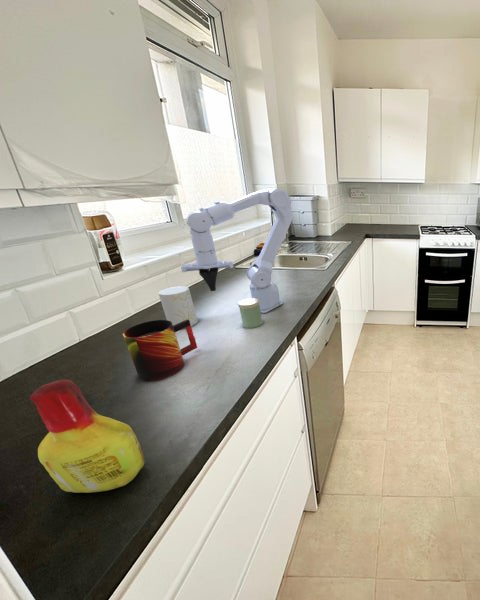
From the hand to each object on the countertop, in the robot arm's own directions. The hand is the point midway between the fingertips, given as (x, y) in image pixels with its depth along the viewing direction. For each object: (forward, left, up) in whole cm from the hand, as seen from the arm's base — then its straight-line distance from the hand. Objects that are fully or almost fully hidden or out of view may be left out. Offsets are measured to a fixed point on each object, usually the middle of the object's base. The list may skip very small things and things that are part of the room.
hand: (213, 290), depth 105 cm
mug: (+27, +11, -11) cm, 31 cm away
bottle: (+54, +35, -11) cm, 65 cm away
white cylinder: (+8, -8, -11) cm, 15 cm away
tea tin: (0, +14, -10) cm, 18 cm away
